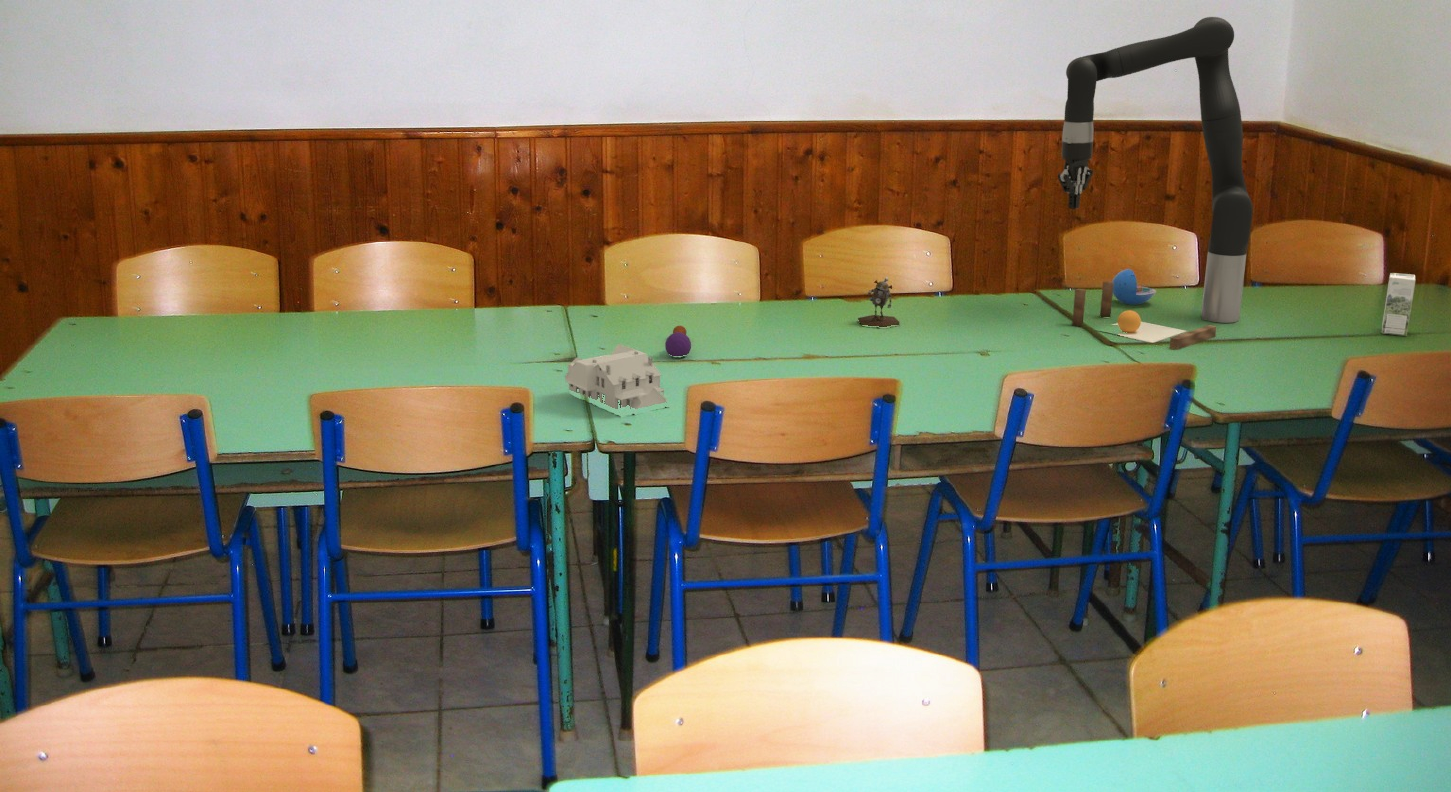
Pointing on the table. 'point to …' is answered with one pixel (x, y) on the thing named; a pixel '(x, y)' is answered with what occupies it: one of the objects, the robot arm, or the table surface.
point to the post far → (1106, 299)
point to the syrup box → (1398, 304)
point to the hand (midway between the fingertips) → (1073, 208)
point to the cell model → (1130, 289)
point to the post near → (1079, 307)
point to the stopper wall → (1192, 337)
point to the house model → (617, 378)
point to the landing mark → (1152, 332)
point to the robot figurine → (880, 299)
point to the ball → (1129, 321)
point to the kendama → (678, 342)
